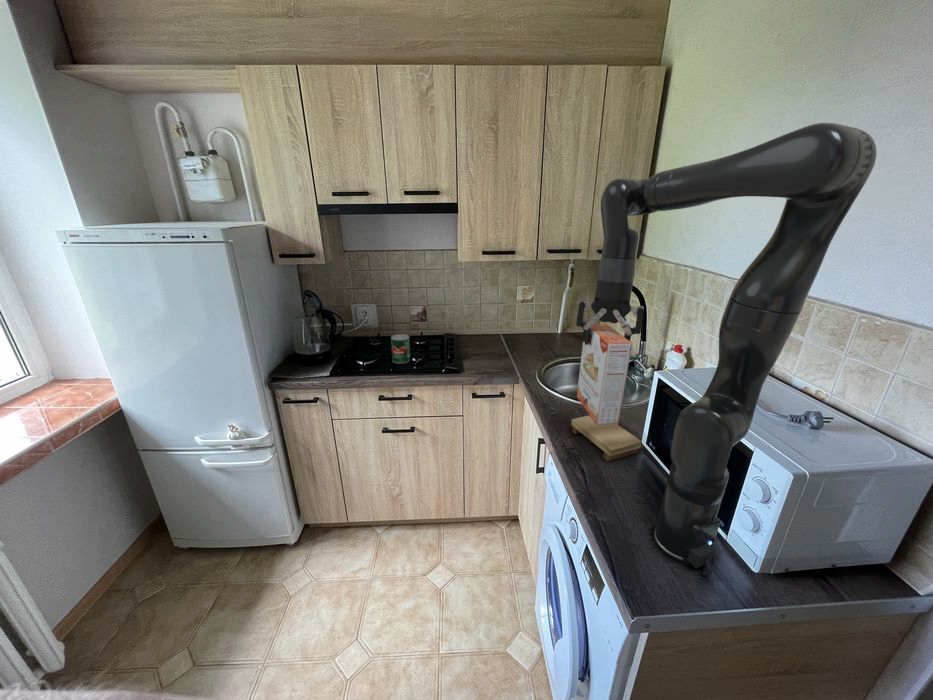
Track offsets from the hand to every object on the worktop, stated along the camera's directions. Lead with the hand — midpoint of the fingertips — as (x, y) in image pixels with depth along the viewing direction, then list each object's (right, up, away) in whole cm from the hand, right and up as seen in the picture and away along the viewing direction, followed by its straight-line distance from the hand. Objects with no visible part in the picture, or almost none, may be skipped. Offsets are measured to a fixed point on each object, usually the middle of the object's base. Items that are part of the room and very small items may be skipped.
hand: (604, 346), depth 90 cm
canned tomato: (-62, -6, +80) cm, 101 cm away
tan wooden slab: (+8, -28, +23) cm, 37 cm away
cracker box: (0, -16, +6) cm, 17 cm away
